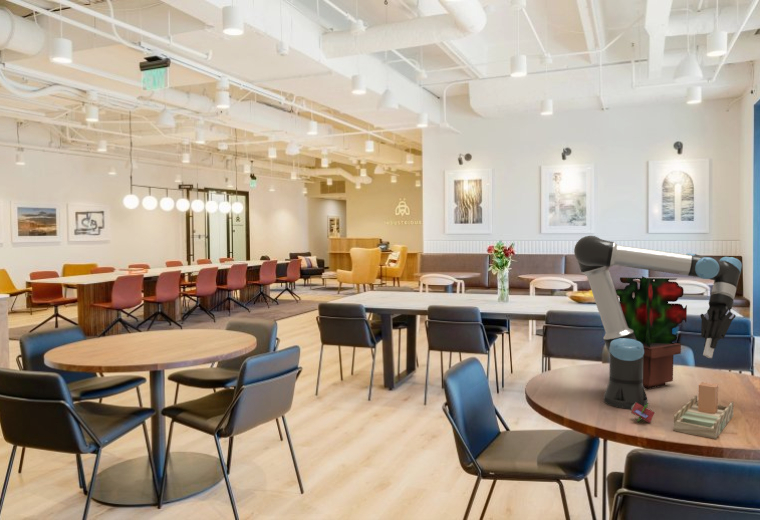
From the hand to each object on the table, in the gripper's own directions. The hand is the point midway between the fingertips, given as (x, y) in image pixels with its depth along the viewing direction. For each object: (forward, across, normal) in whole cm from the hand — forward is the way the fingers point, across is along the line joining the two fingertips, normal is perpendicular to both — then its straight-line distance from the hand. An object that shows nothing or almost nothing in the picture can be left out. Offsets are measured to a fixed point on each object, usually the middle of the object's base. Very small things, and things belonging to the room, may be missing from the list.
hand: (707, 356), depth 207 cm
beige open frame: (+24, -5, 0) cm, 25 cm away
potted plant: (+7, +41, -14) cm, 44 cm away
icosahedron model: (+32, +3, +16) cm, 36 cm away
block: (+19, -3, -2) cm, 19 cm away
